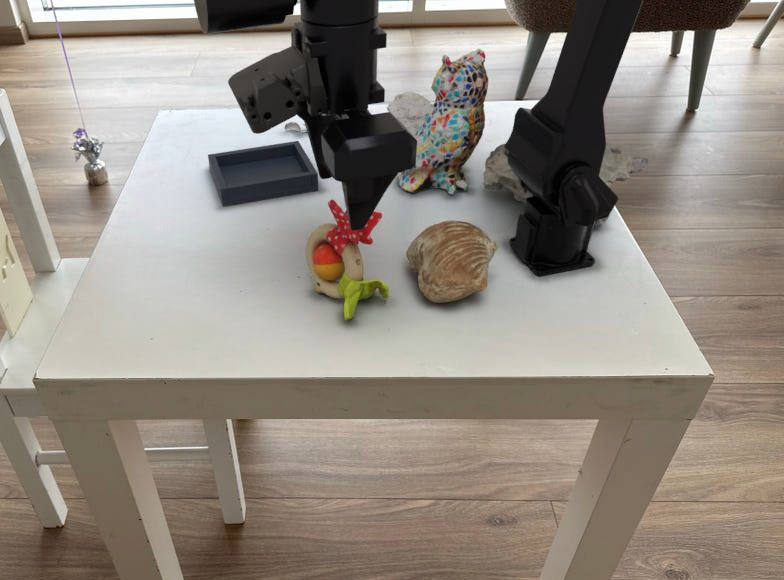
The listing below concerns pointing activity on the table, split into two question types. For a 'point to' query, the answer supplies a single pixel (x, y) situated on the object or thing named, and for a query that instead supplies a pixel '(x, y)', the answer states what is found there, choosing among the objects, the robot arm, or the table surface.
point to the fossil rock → (503, 177)
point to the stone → (410, 110)
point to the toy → (293, 126)
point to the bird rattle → (342, 260)
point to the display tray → (262, 173)
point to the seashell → (451, 260)
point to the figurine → (450, 126)
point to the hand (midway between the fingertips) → (340, 202)
